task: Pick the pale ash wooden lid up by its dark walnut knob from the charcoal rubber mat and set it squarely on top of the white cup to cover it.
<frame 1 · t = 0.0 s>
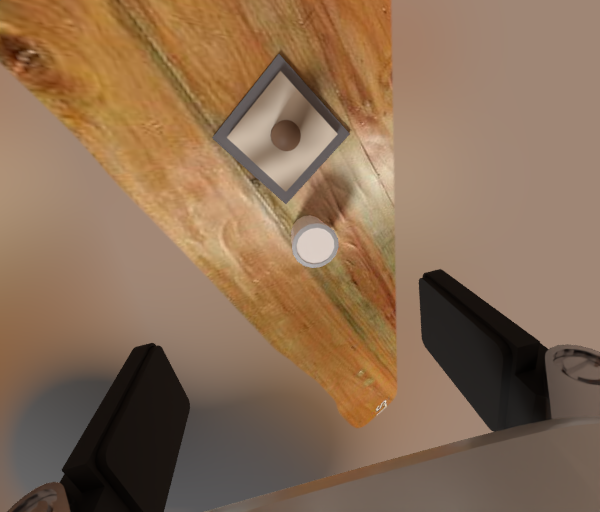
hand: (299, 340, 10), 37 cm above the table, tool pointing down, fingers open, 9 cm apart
white cup: (308, 231, 49), on the table
mat: (282, 135, 42), on the table
lid: (282, 135, 42), resting on mat
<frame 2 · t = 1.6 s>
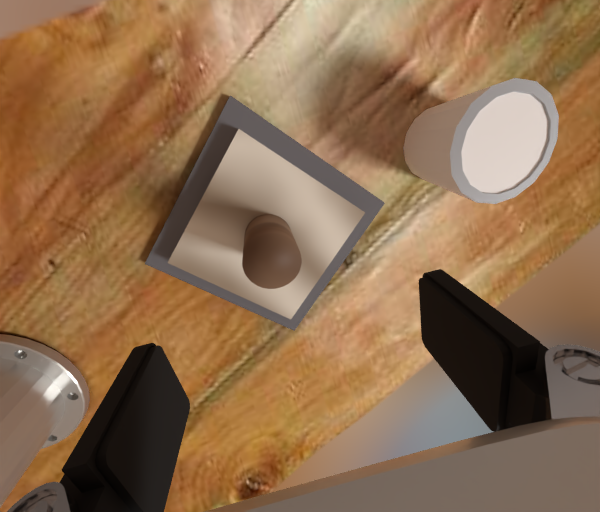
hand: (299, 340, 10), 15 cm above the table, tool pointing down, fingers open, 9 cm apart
white cup: (435, 144, 23), on the table
mat: (267, 230, 24), on the table
lid: (267, 232, 23), resting on mat
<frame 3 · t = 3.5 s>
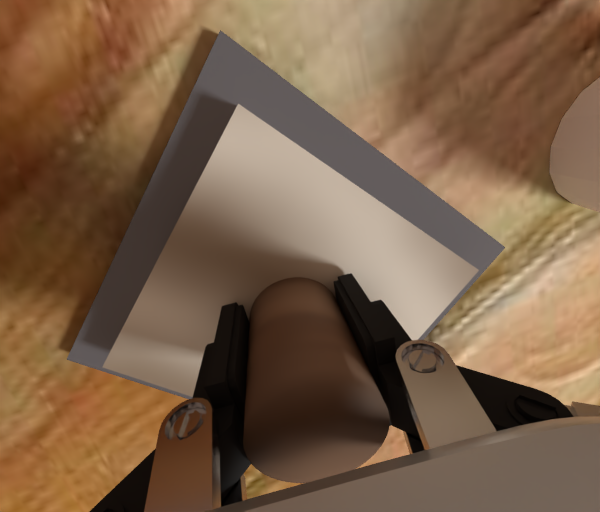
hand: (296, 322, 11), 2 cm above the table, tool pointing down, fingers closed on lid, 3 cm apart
mat: (290, 296, 13), on the table
lid: (292, 301, 13), resting on mat, touching gripper
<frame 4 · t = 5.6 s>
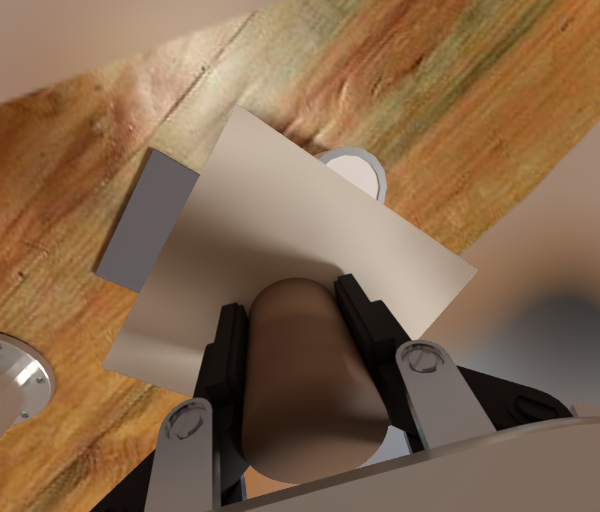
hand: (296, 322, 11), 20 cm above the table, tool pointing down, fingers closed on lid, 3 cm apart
white cup: (325, 180, 30), on the table
mat: (193, 248, 30), on the table
lid: (291, 302, 13), point 19 cm above the table, touching gripper
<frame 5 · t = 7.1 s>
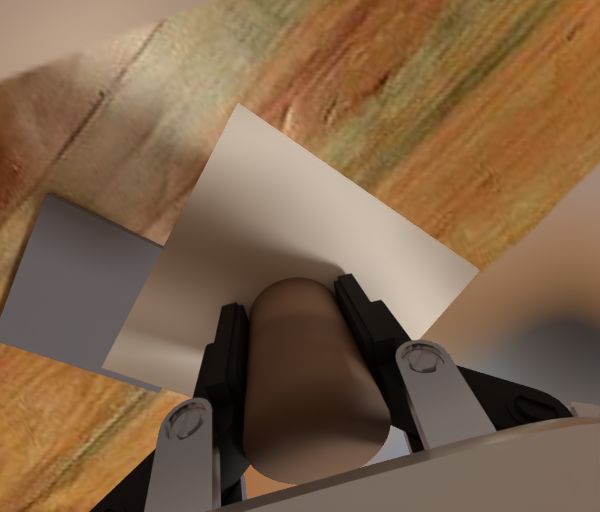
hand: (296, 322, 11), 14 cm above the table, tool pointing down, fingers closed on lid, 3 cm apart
mat: (114, 306, 25), on the table
lid: (292, 302, 13), point 12 cm above the table, touching gripper
when the fingers open (10 cm above the table, at t = 8.0 s): lid drops 2 cm, resting on white cup.
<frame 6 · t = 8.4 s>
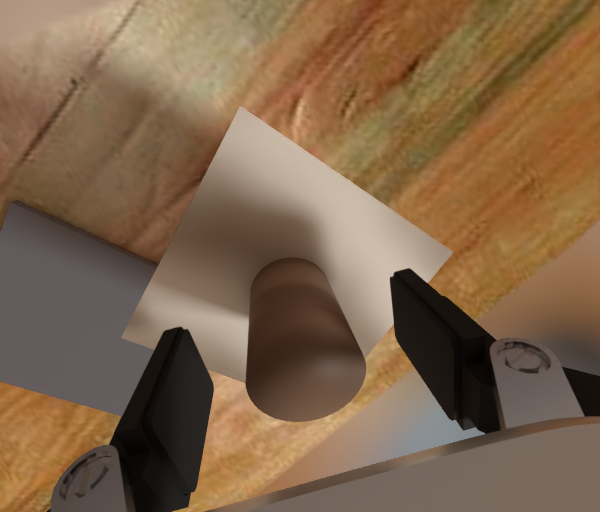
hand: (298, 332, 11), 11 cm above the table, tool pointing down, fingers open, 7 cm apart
mat: (96, 329, 22), on the table
lid: (288, 281, 14), point 7 cm above the table, touching white cup
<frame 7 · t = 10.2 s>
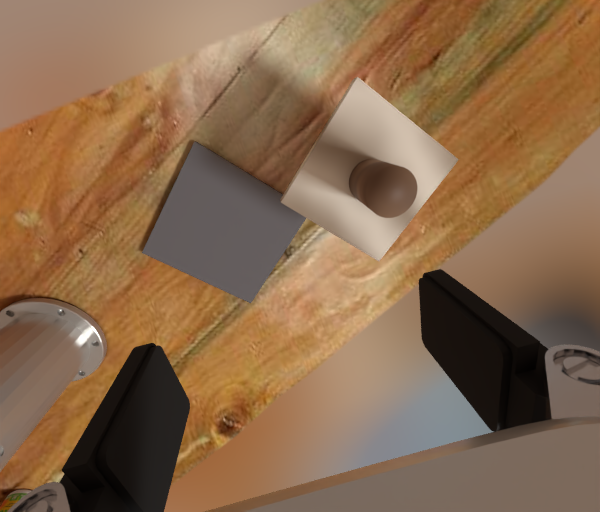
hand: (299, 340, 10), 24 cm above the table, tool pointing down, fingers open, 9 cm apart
mat: (226, 230, 34), on the table
lid: (365, 178, 26), point 7 cm above the table, touching white cup
supplement bottle: (27, 496, 49), on the table
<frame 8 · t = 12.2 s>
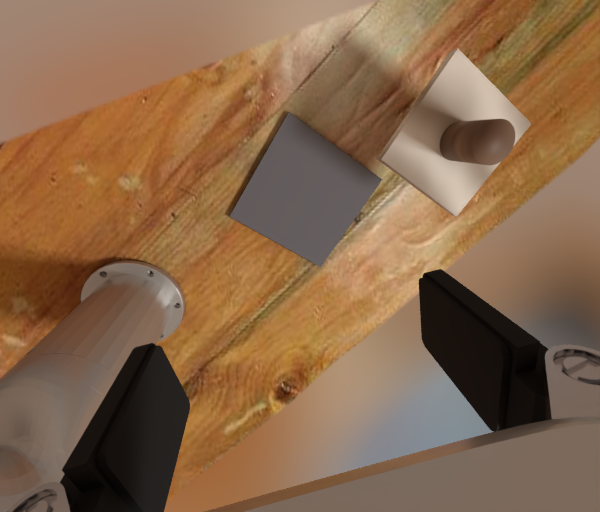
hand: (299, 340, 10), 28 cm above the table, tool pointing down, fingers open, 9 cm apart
mat: (305, 197, 37), on the table
lid: (449, 141, 30), point 7 cm above the table, touching white cup
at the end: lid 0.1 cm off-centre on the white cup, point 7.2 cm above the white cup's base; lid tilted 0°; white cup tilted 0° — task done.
